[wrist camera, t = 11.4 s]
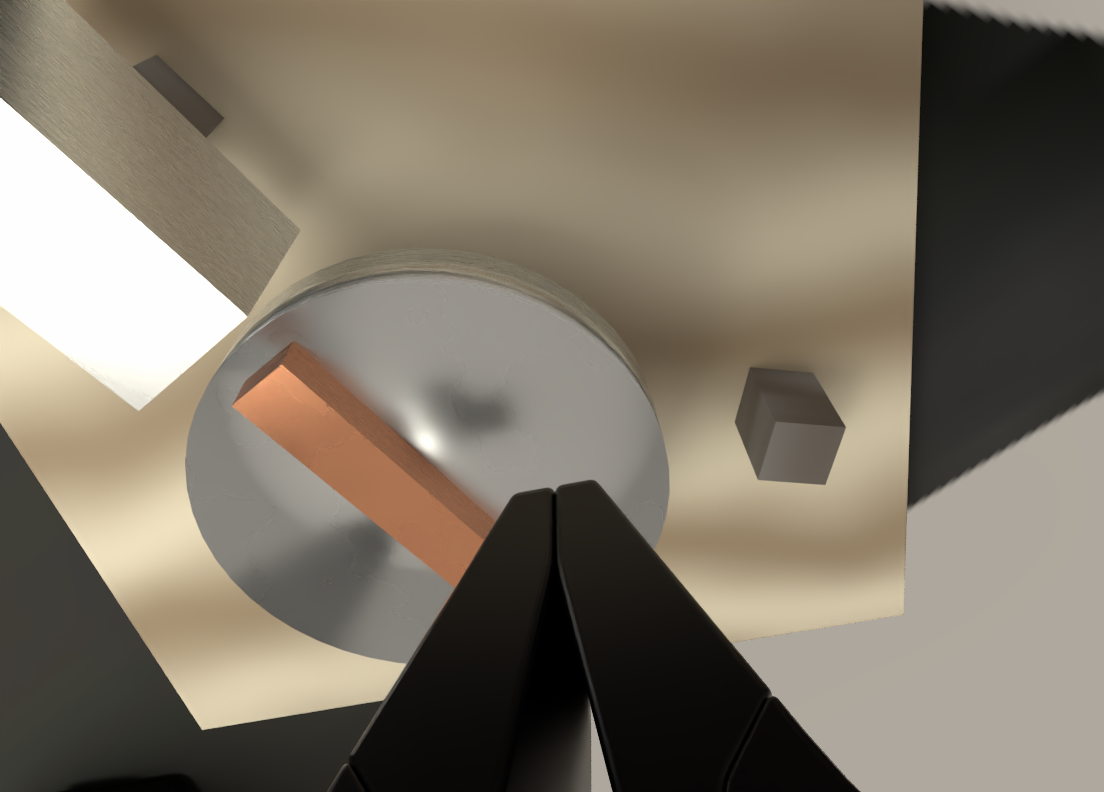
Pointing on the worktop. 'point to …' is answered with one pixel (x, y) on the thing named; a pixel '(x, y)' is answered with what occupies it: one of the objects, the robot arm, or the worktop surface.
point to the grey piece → (302, 353)
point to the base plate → (562, 256)
